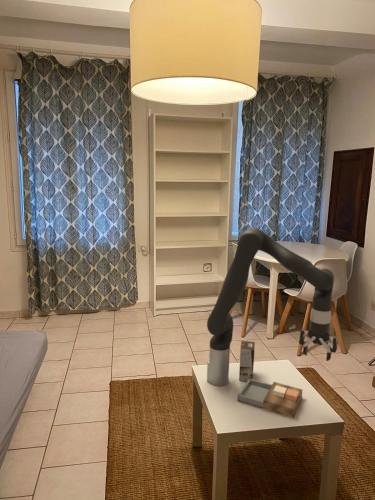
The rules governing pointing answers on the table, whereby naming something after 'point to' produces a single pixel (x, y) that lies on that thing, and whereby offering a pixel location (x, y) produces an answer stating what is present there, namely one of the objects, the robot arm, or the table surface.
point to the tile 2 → (292, 394)
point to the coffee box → (246, 360)
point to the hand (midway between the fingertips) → (316, 357)
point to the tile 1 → (280, 391)
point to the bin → (254, 393)
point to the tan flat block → (281, 401)
